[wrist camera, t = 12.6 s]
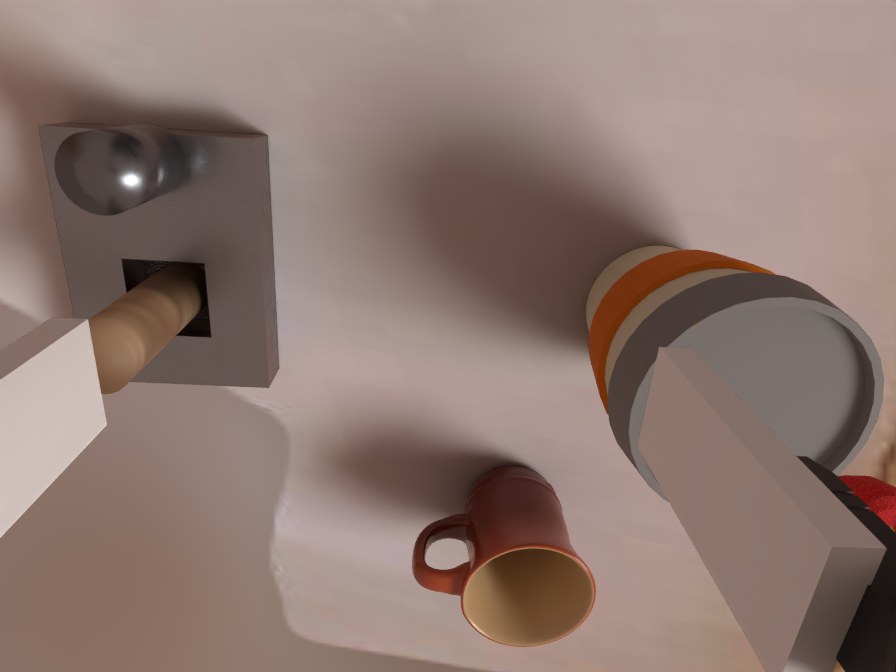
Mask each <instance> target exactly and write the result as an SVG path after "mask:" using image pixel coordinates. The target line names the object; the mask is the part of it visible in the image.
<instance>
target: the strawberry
mask: <svg viewBox="0 0 896 672" xmlns="http://www.w3.org/2000/svg"><path fill="white" fill-rule="evenodd" d="M838 477H839V478H840V479H841V480H842V481H843V482H844V483H845V484H846V485H847V486H848V487H849V488H850V489H851V490H852V491H853V495H857V496H858V497H859V498H860V499H861V500H862V501H863V502H864V503H865V504H866V505H868V506H869V510H870V511H874V512H875V513H876V514H877V515H878V516H879V517H880V518H881V519H882V520H883V521H884V522H885V523H886V524H887V525H888V526H889V527H890V528H891V529H892V530H893V531H894V532H895V533H896V487H894V486H892V485H889V484H887V483H885V482H883V481H880V480H878V479H876V478H873V477H870V476H848V475H845V476H838Z"/></svg>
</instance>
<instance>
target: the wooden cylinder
mask: <svg viewBox="0 0 896 672" xmlns="http://www.w3.org/2000/svg"><path fill="white" fill-rule="evenodd" d="M207 304H208V295H207V285H206V274H205V270H204V269H203V268H202V267H200V266H199V265H197V264H195V263H193V262H176V261H174V262H171V263H169V264H167V265H166V266H165V267H163V268H162V269H160V270H159V271H157V272H156V273H154V274H153V275H152V276H150V277H149V278H147V279H146V280H144V281H143V282H142V283H140V284H139V285H137V286H136V287H134V288H133V289H131V290H130V291H129V292H127V293H126V294H124V295H123V296H121V297H120V298H118V299H117V300H116V301H114V302H113V303H111V304H110V305H108V306H107V307H106V308H104V309H103V310H101V311H100V312H98V313H97V314H95V315H94V316H93V317H91V318H90V319H88V322H89V328H90V334H91V339H92V345H93V350H94V356H95V362H96V367H97V373H98V378H99V384H100V390H101V394H109V393H114V392H116V391H119V390H120V389H122V388H123V387H125V386H126V385H127V384H128V382H130V381H131V380H132V379H133V378H134V377H135V376H136V375H137V374H138V373H139V372H140V371H141V370H142V369H143V368H144V367H145V366H146V365H147V364H148V363H149V362H150V361H151V360H152V359H153V358H154V357H155V356H156V355H157V354H158V353H159V352H160V351H161V350H162V349H163V348H164V347H165V346H166V345H167V344H168V343H169V342H170V341H171V340H172V339H173V338H174V337H175V336H176V335H177V334H178V333H179V332H180V331H181V330H182V329H183V328H184V327H185V326H186V325H187V324H188V323H189V322H190V321H191V320H192V319H193V318H194V317H195V316H196V315H197V314H198V313H199V312H200V311H201V310H202V309H203V308H204V307H205V306H206V305H207Z"/></svg>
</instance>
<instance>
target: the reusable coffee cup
mask: <svg viewBox="0 0 896 672" xmlns="http://www.w3.org/2000/svg"><path fill="white" fill-rule="evenodd" d="M586 321H587V327H588V331H589V346H588V347H589V354H590V360H591V365H592V368H593V372H594V376H595V379H596V383H597V387H598V390H599V394H600V397H601V400H602V402H603V405H604V407H605V410H606V412H607V414H608V415H609V422H610V426H611V428H612V431H613V434H614V436H615V439H616V441H617V443H618V445H619V446H620V447H621V449H622V450H623V452H624V453H625V454H626V456H627V457H628V459H629V460H630V461H631V463H632V464H633V465H634V467H635V468H636V469H637V471H638V472H639V473H640V475H641V476H642V477H643V478H644V480H645V481H646V482H647V484H648V485H649V486H650V487H651V488H652V489H653V490H654V491H655V492H656V493H658V494H659V495H660V496H661V497H662V498H663V499H664V500H666V501H668V499H667V497H666V495H665V494H664V492H663V490H662V488H661V487H660V485H659V483H658V481H657V480H656V478H655V476H654V474H653V473H652V471H651V469H650V467H649V466H648V464H647V462H646V460H645V459H644V457H643V455H642V453H641V452H640V450H639V448H638V441H639V437H640V432H641V428H642V423H643V418H644V414H645V409H646V405H647V400H648V396H649V391H650V386H651V382H652V377H653V373H654V368H655V364H656V359H657V354H658V350H659V347H669V348H690V349H692V350H693V351H694V352H695V353H696V354H697V355H698V356H699V357H700V358H701V359H702V360H703V361H704V363H705V364H706V365H707V366H708V367H709V368H710V369H711V370H712V371H713V372H714V373H715V374H716V375H717V376H718V377H719V378H720V379H721V380H722V381H723V382H724V383H725V384H726V385H727V386H728V387H729V388H730V389H731V390H732V391H733V392H734V393H735V394H736V395H737V396H738V397H739V398H740V399H741V400H742V401H743V402H744V403H745V404H746V405H747V406H748V407H749V408H750V409H751V410H752V411H753V412H754V414H755V415H756V416H757V417H758V418H759V419H760V420H761V421H762V422H763V423H764V424H765V425H766V426H767V427H768V428H769V429H770V430H771V431H772V432H773V433H774V434H775V435H776V436H777V437H778V438H779V439H780V440H781V441H782V442H783V443H784V444H785V445H786V446H787V447H788V448H789V449H790V450H791V451H792V452H793V453H794V454H795V455H796V456H807V457H809V458H810V459H812V460H813V461H815V462H817V463H818V464H820V465H822V466H823V467H825V468H827V469H828V470H830V471H832V472H833V473H834V474H835V475H836V476H838V475H839V474H840V473H841V472H842V471H843V470H844V469H845V468H846V467H847V466H848V465H849V464H850V463H851V462H852V461H853V460H854V458H855V457H856V456H857V454H858V453H859V452H860V450H861V449H862V448H863V446H864V445H865V444H866V442H867V440H868V438H869V436H870V434H871V432H872V430H873V428H874V426H875V424H876V422H877V419H878V415H879V412H880V408H881V405H882V401H883V387H884V377H883V371H882V365H881V360H880V357H879V355H878V352H877V350H876V348H875V346H874V344H873V342H872V340H871V338H870V337H869V336H868V335H867V334H866V332H865V331H864V330H863V329H862V328H861V326H860V325H859V324H858V323H857V322H856V321H854V320H853V319H852V318H851V317H849V316H848V315H847V314H846V313H844V312H843V311H842V310H840V309H839V308H838V307H837V306H835V305H834V304H833V303H832V302H830V301H829V300H828V299H827V298H825V297H824V296H822V295H821V294H820V293H818V292H817V291H815V290H814V289H812V288H811V287H810V286H808V285H806V284H804V283H801V282H799V281H796V280H794V279H791V278H789V277H786V276H780V275H776V274H774V273H773V272H771V271H769V270H766V269H764V268H761V267H759V266H756V265H754V264H750V263H747V262H744V261H740V260H737V259H734V258H730V257H727V256H723V255H720V254H717V253H713V252H707V251H701V250H681V249H678V248H674V247H668V246H662V245H661V246H646V247H642V248H638V249H635V250H632V251H630V252H628V253H625V254H623V255H622V256H620V257H619V258H617V259H616V260H614V261H613V262H612V263H610V264H609V265H608V266H607V267H606V268H605V269H604V270H603V271H602V272H601V274H600V275H599V276H598V278H597V279H596V280H595V282H594V284H593V286H592V288H591V290H590V293H589V296H588V300H587V304H586ZM668 502H669V501H668Z"/></svg>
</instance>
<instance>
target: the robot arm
mask: <svg viewBox="0 0 896 672" xmlns="http://www.w3.org/2000/svg"><path fill="white" fill-rule="evenodd" d="M106 425H107V423H106V418H105V412H104V406H103V401H102V395H101V390H100V384H99V378H98V373H97V367H96V362H95V356H94V350H93V345H92V339H91V334H90V328H89V322H88V319H75V318H54V317H53V318H51V319H50V320H48V321H46V322H45V323H43V324H41V325H40V326H38V327H37V328H35V329H33V330H32V331H30V332H29V333H27V334H25V335H24V336H22V337H21V338H19V339H17V340H16V341H14V342H13V343H11V344H9V345H8V346H6V347H5V348H3V349H2V350H0V537H1V536H2V535H3V534H4V533H5V532H6V531H7V530H8V529H9V528H10V527H11V526H12V525H13V524H14V523H15V522H16V520H17V519H18V518H19V517H20V516H21V515H22V514H23V513H24V512H25V511H26V510H27V509H28V508H29V507H30V506H31V505H32V503H34V501H35V500H36V499H37V498H38V497H39V496H40V495H41V494H42V493H43V492H44V491H45V490H46V489H47V488H48V487H49V486H50V484H51V483H52V482H53V481H54V480H55V479H56V478H57V477H58V476H59V475H60V474H61V473H62V472H63V471H64V469H66V468H67V466H68V465H69V464H70V463H71V462H72V461H73V460H74V459H75V458H76V457H77V456H78V455H79V454H80V453H81V451H83V450H84V448H85V447H86V446H87V445H88V444H89V443H90V442H91V441H92V440H93V439H94V438H95V437H96V436H97V435H98V433H100V432H101V430H102V429H103V428H104V427H105V426H106ZM638 448H639V450H640V452H641V453H642V455H643V457H644V459H645V460H646V462H647V464H648V466H649V467H650V469H651V471H652V473H653V474H654V476H655V478H656V480H657V481H658V483H659V485H660V487H661V488H662V490H663V492H664V494H665V495H666V497H667V499H668V501H669V502H670V504H671V506H672V508H673V509H674V511H675V513H676V515H677V516H678V518H679V520H680V522H681V523H682V525H683V527H684V529H685V530H686V532H687V534H688V536H689V538H690V539H691V541H692V543H693V545H694V546H695V548H696V550H697V552H698V553H699V555H700V557H701V559H702V560H703V562H704V564H705V566H706V567H707V569H708V571H709V573H710V574H711V576H712V578H713V580H714V581H715V583H716V585H717V587H718V588H719V590H720V592H721V594H722V595H723V597H724V599H725V601H726V602H727V604H728V606H729V608H730V609H731V611H732V613H733V615H734V616H735V618H736V620H737V622H738V623H739V625H740V627H741V629H742V630H743V632H744V634H745V636H746V637H747V639H748V641H749V643H750V644H751V646H752V648H753V650H754V651H755V653H756V655H757V657H758V658H759V660H760V662H761V664H762V665H763V667H764V669H765V671H766V672H833V670H834V667H835V665H836V663H837V660H838V662H839V663H840V665H841V666H842V668H843V669H844V670H845V672H896V533H895V532H894V531H893V530H892V529H891V528H890V527H889V526H888V525H887V524H886V523H885V522H884V521H883V520H882V519H881V518H880V517H879V516H878V515H877V514H876V513H875V512H874V511H870V510H869V506H868V505H866V504H865V503H864V502H863V501H862V500H861V499H860V498H859V497H858V496H857V495H853V491H852V490H851V489H850V488H849V487H848V486H847V485H846V484H845V483H844V482H843V481H842V480H841V479H840V478H839V477H838V476H836V475H835V474H834V473H833V472H832V471H830V470H828V469H827V468H825V467H823V466H822V465H820V464H818V463H817V462H815V461H813V460H812V459H810V458H809V457H807V456H796V455H795V454H794V453H793V452H792V451H791V450H790V449H789V448H788V447H787V446H786V445H785V444H784V443H783V442H782V441H781V440H780V439H779V438H778V437H777V436H776V435H775V434H774V433H773V432H772V431H771V430H770V429H769V428H768V427H767V426H766V425H765V424H764V423H763V422H762V421H761V420H760V419H759V418H758V417H757V416H756V415H755V414H754V412H753V411H752V410H751V409H750V408H749V407H748V406H747V405H746V404H745V403H744V402H743V401H742V400H741V399H740V398H739V397H738V396H737V395H736V394H735V393H734V392H733V391H732V390H731V389H730V388H729V387H728V386H727V385H726V384H725V383H724V382H723V381H722V380H721V379H720V378H719V377H718V376H717V375H716V374H715V373H714V372H713V371H712V370H711V369H710V368H709V367H708V366H707V365H706V364H705V363H704V361H703V360H702V359H701V358H700V357H699V356H698V355H697V354H696V353H695V352H694V351H693V350H692V349H690V348H669V347H659V350H658V354H657V359H656V364H655V368H654V373H653V377H652V382H651V386H650V391H649V396H648V400H647V405H646V409H645V414H644V418H643V423H642V428H641V432H640V437H639V441H638Z"/></svg>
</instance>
